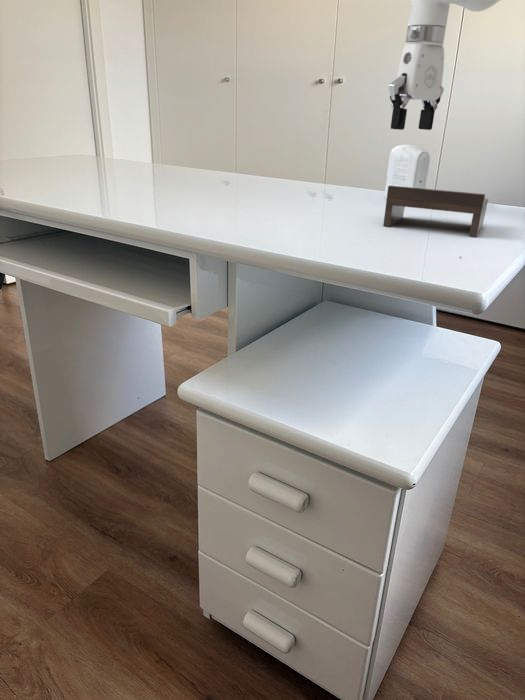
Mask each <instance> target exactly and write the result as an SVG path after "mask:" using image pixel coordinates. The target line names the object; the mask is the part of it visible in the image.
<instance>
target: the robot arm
mask: <svg viewBox="0 0 525 700" xmlns="http://www.w3.org/2000/svg"><path fill="white" fill-rule="evenodd" d="M500 1H501V0H410V5H409V12H408V21H407V29H406V36H405V44H404V46H403V49H402V54H401V56H400V60H399V66H398V70H397V77H396V79H395V80H393V81H392V82H391V83H389V85H388V89H389V99H390V102H391V108H392V114H391V122H390V130H400V131H402V130H405V127H406V121H407V120H406V119H407V112H408V109H407V108H406V107H407V105H408V104H409V102H410V100H420V101H421V104H422V108H423V109H422V108H421V109H420V114H419V121H418V129H419V130H423V131H424V130H425V131H431V130H432V129H433V125H434V119H435V113H436V111H437V109H438V105H439V103H440V102H441V98H442V96H443V94H444V91H445V88H444V87H443V77H444V66H445V47H444V43H445V36H446V31H447V24H448V17H449V12H450V5H451V4H452V5H456V6H460V7H462V8H465V9H466V10H468V11H470V12H483V11H485V10H488V9H489V8H492V7H493V6H495V5H496V4H497V3H499V2H500Z"/></svg>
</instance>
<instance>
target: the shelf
mask: <svg viewBox="0 0 525 700" xmlns="http://www.w3.org/2000/svg"><path fill="white" fill-rule="evenodd" d="M385 200H386V201H385V209H384V217H383V223H382V226H383V227H387V228H390V227H392V226H393V225H394V224H395V223H398V221H400V220H402V219H403V218H404V213H405V208H414V209H422V210H423V209H425V210H432V211H433V210H434V211H445V212H452V213H464V214H472V218H471V224H470V229H469V233H468V237H472V238H477V237H478V235H479V234H480V231H481V230H482V228H483V226H484V221H485V216H486V212H487V208H488V207H487V206H488V201H489V198H488V197H487V198H486V193H478V192H466V191H457V190H456V191H455V190H444V189H434V188H425V189H423V188H412V187H401V186H388V192H387V199H385Z"/></svg>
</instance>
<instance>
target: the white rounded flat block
mask: <svg viewBox="0 0 525 700" xmlns="http://www.w3.org/2000/svg"><path fill="white" fill-rule="evenodd" d="M430 157H431V156H430V153H429V151H427V150H426V149H425V148H424V147H422V146H419V145H417V144H412V143H411V144H407V143H405V144H400V145H397V146H394V147H393V148H392V149H391V151H390V153H389V158H388V165H387V173H386V181H385V187H384V195H383V196H384V199H385V200H387V192H388V186H401V187H412V188H423V189H426V186H427V179H428V173H429V167H430V162H431V158H430Z"/></svg>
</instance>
